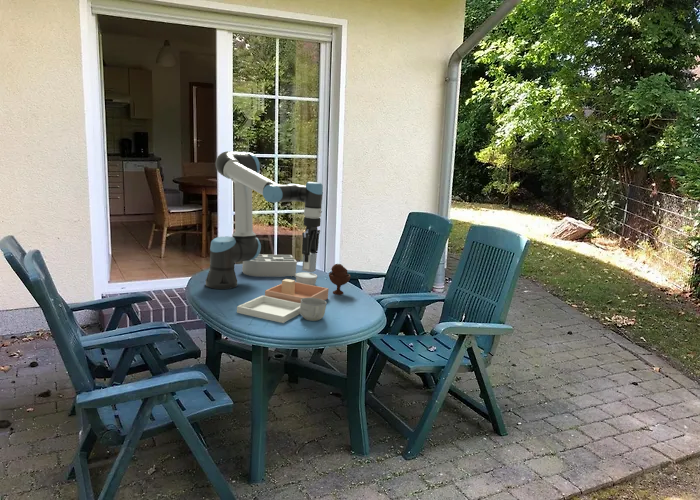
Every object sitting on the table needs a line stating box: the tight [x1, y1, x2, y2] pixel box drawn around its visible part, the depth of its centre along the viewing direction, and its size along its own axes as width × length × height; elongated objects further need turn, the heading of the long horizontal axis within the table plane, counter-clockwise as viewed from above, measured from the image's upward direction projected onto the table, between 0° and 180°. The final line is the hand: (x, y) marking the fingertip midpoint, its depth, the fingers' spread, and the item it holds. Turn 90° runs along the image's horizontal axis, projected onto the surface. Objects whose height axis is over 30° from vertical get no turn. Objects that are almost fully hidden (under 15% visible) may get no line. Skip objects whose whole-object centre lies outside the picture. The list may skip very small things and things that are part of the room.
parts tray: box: [236, 295, 301, 324], centre depth 230 cm, size 22×20×3 cm
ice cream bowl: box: [328, 263, 352, 296], centre depth 266 cm, size 11×11×15 cm
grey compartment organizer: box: [241, 253, 298, 278], centre depth 295 cm, size 17×28×9 cm, turn 107°
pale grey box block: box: [301, 252, 318, 273], centre depth 245 cm, size 5×4×8 cm
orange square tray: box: [264, 281, 330, 303], centre depth 250 cm, size 22×22×5 cm
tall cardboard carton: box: [281, 278, 296, 296], centre depth 252 cm, size 5×4×8 cm
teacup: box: [299, 298, 328, 322], centre depth 224 cm, size 14×11×8 cm
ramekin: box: [295, 271, 318, 286], centre depth 278 cm, size 11×11×5 cm
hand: (308, 267), depth 246 cm, fingers closed on pale grey box block, 4 cm apart
